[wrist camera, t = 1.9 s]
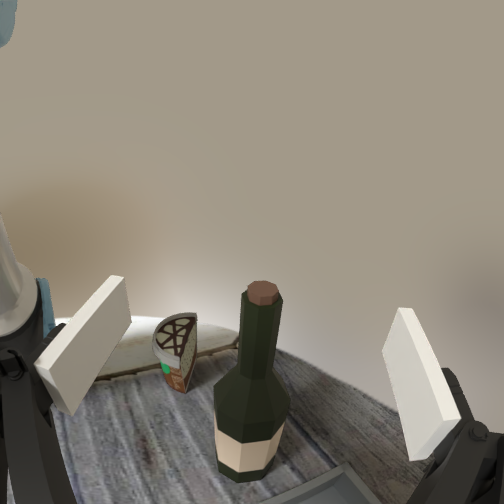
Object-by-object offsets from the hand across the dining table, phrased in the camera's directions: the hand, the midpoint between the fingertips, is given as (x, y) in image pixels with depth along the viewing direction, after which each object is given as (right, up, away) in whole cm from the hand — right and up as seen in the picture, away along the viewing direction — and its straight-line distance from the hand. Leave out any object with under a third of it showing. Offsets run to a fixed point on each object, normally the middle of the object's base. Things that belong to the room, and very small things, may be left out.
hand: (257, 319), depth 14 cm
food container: (-14, -19, +39) cm, 46 cm away
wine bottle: (-1, -27, +24) cm, 36 cm away
